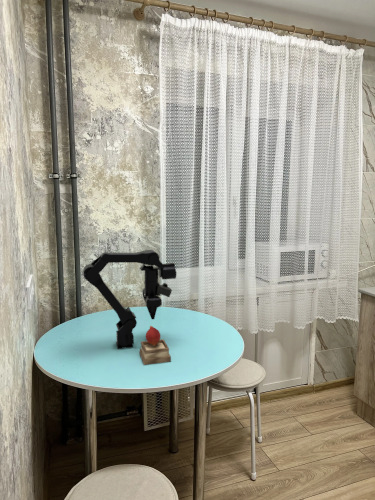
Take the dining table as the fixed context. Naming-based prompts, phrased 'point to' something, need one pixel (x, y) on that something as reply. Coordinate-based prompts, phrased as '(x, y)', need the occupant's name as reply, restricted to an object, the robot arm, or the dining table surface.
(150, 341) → the pomegranate
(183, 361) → the dining table surface
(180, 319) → the dining table surface
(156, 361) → the pedestal
